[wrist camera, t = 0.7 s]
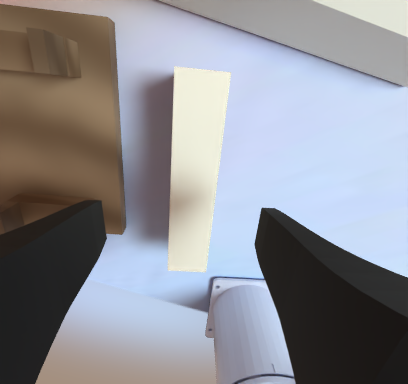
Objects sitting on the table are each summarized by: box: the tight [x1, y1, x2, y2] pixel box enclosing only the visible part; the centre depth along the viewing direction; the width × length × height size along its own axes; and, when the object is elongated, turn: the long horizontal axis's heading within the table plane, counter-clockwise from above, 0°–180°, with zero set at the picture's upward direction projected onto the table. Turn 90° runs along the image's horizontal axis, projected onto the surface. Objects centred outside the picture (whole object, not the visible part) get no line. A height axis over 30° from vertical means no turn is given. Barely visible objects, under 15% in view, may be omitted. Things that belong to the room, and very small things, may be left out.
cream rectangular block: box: [168, 66, 231, 272], centre depth 17 cm, size 14×3×5 cm, turn 175°
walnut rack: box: [0, 4, 126, 235], centre depth 16 cm, size 16×10×4 cm, turn 175°
